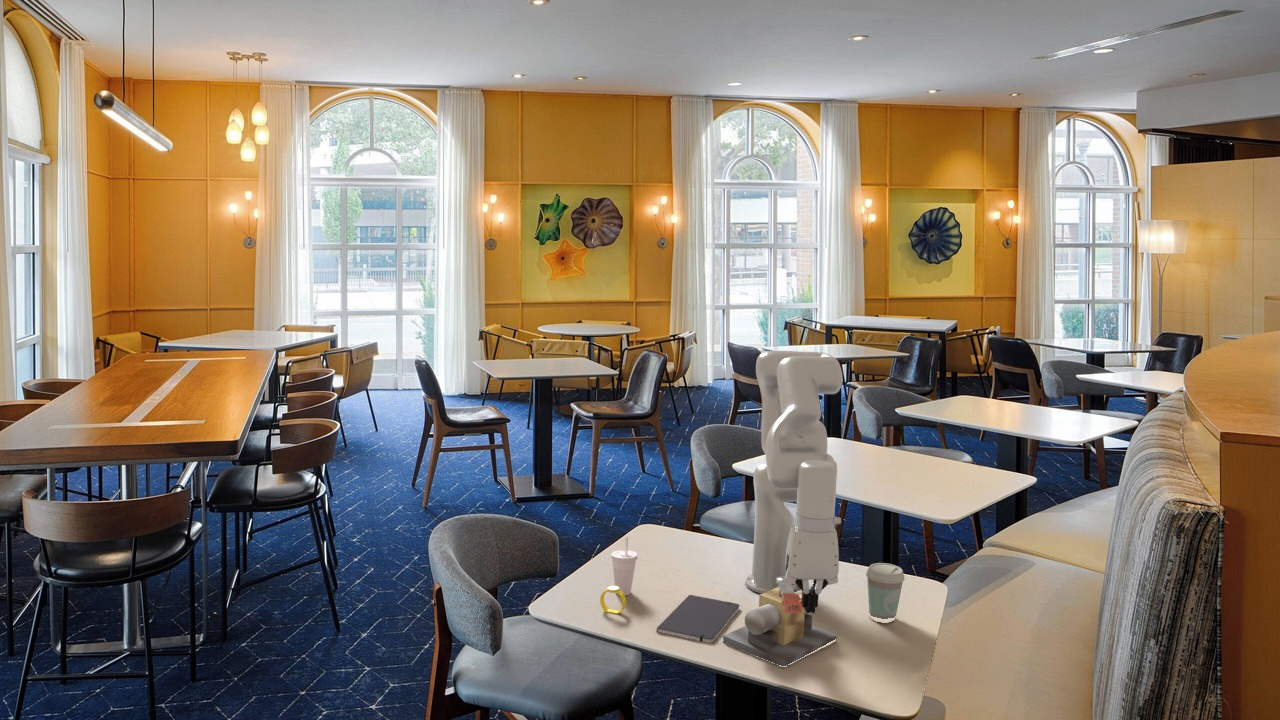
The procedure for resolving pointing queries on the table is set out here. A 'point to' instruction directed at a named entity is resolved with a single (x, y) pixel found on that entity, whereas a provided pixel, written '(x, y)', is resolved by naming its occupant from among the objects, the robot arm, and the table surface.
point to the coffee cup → (884, 589)
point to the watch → (613, 590)
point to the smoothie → (624, 568)
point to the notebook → (699, 618)
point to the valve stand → (778, 631)
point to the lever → (789, 596)
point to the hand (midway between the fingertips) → (809, 610)
